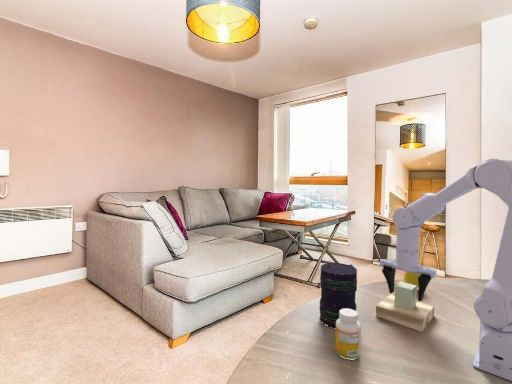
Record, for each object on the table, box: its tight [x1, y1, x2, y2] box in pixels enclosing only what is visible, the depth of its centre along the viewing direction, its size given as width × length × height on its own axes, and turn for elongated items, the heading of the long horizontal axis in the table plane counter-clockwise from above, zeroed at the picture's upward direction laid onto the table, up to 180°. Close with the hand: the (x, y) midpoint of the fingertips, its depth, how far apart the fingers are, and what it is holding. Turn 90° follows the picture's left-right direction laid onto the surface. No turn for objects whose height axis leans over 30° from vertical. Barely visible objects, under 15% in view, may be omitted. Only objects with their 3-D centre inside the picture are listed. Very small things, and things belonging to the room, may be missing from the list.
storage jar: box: [319, 262, 358, 329], centre depth 79 cm, size 10×10×15 cm
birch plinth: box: [375, 293, 435, 333], centre depth 82 cm, size 12×12×3 cm
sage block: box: [394, 281, 418, 311], centre depth 82 cm, size 4×4×6 cm
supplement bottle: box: [334, 308, 362, 359], centre depth 64 cm, size 5×5×10 cm
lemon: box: [403, 271, 421, 288], centre depth 102 cm, size 6×6×8 cm
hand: (405, 296), depth 82 cm, fingers open, 7 cm apart
